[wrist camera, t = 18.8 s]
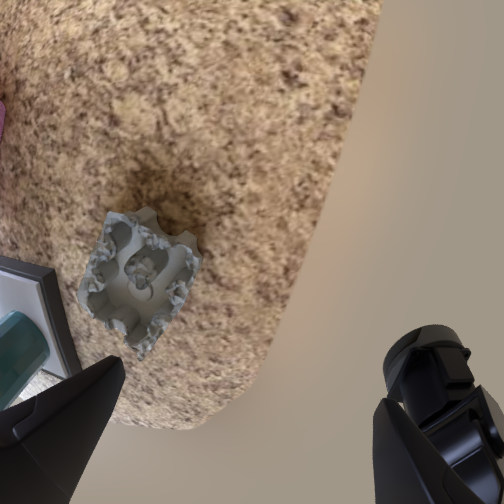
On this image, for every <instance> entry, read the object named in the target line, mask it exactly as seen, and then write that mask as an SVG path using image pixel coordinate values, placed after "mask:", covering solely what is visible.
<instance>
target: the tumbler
mask: <svg viewBox="0 0 504 504" xmlns="http://www.w3.org/2000/svg"><path fill="white" fill-rule="evenodd" d="M49 358H50V349H49V346H48V343H47V341H46V339H45V337H44V335H43V334H42V332H41V331H40V329H39V328H38V327H37V326H36V324H35V323H34V322H33V321H32V320H31V319H30V318H29V317H27V316H26V315H25V314H23V313H22V312H20V311H16V310H12V311H10V312H9V313H8V314H6V315H5V316H4V317H3V318H2V319H0V411H2V410H5V409H7V408H9V406H10V405H11V404H12V403H13V401H14V400H15V399H16V398H17V397H18V396H19V394H20V393H21V392H22V391H23V390H24V389H25V387H26V386H27V385H28V384H29V383H30V381H31V380H32V379H33V378H34V377H35V376H36V375H37V373H38V372H39V371H40V370H41V369H42V368H43V366H44V365H45V364H46V362H47V361H48V360H49Z"/></svg>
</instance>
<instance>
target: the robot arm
mask: <svg viewBox="0 0 504 504" xmlns="http://www.w3.org/2000/svg"><path fill="white" fill-rule="evenodd" d="M414 352H416V353H414ZM470 355H471V351H470V349H469V348H447V347H417V346H416V347H412V348H411V349H410V350H409V352H408V354H407V356H406V358H405V360H404V362H403V365H402V367H401V369H400V371H399V373H398V375H397V377H396V379H395V381H394V383H393V385H392V387H391V389H390V391H389V393H388V395H387V398H383V399H382V400H381V401H380V403H379V405H378V407H377V409H376V411H375V413H374V416H373V469H374V482H375V500H376V501H375V502H376V504H504V415H503V413H502V411H501V409H500V407H499V405H498V403H497V402H496V401H495V400H494V399H493V398H492V397H491V395H490V394H489V393H488V392H487V391H486V390H485V389H484V388H483V387H482V386H481V385H479V386H478V387H477V388H475V386H474V384H473V383H474V381H475V380H474V377H473V375H472V373H471V371H470V369H469V367H468V365H467V361H468V359H469V357H470ZM125 376H126V374H125V370H124V366H123V361H122V359H121V358H120V357H117V356H113V355H110V356H108V357H106V358H104V359H102V360H101V361H99V362H97V363H95V364H93V365H91V366H89V367H88V368H86V369H84V370H82V371H80V372H78V373H77V374H75V375H73V376H71V377H69V378H67V379H65V380H63V381H62V382H60V383H58V384H56V385H54V386H52V387H50V388H48V389H47V390H45V391H43V392H41V393H39V394H37V395H36V396H33V397H31V398H29V399H27V400H25V401H23V402H21V403H19V404H17V405H15V406H12V407H10V408H7V409H5V410H2V411H0V504H69V502H70V498H71V497H72V495H73V493H74V491H75V489H76V486H77V484H78V482H79V480H80V478H81V476H82V474H83V472H84V469H85V467H86V465H87V463H88V461H89V459H90V457H91V455H92V453H93V451H94V449H95V447H96V445H97V443H98V441H99V439H100V437H101V435H102V433H103V431H104V429H105V427H106V425H107V423H108V421H109V419H110V417H111V415H112V413H113V410H114V407H115V405H116V402H117V399H118V397H119V394H120V391H121V389H122V386H123V383H124V381H125ZM398 402H403V406H404V409H405V411H404V410H403V408H402V407H401V406H400V405H399V403H398Z"/></svg>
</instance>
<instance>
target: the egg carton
mask: <svg viewBox="0 0 504 504" xmlns="http://www.w3.org/2000/svg"><path fill="white" fill-rule="evenodd" d="M97 241H98V242H97V244H96V245H95V247H94V248H93V250H92V251H91V255H90V260H89V262H88V265H87V267H86V271H85V274H84V277H83V279H82V281H81V284H80V286H79V289H78V293H77V298H78V301H79V303H80V304H81V306H82V308H83V309H84V310H86V311H87V312H89V314H90V315H91V316H92V318H93V319H94V318H96V319H98V320H100V321H101V322H103V323H104V325H105V328H106V329H108V330H111V329H113V328H116V329H117V330H119V331H120V332H122V333H124V334H125V336H124V341H123V342H124V344H125V345H126V346H127V347H128V348H129V349H131V350H132V351H134V352H136V353H137V355H139V358H138V360H139V361H142V360H143V359H144V358H145V357H146V355H147V354H148V352H149V351H150V349H151V348H152V347H153V345H154V344H155V342H156V341H157V340H158V338H159V337H160V336H161V335H162V333H163V332H164V331H165V329H166V328H167V326H168V325H169V324H170V322H171V321H172V319H173V318H174V317H175V315H176V314H177V313H178V312H179V310H180V309H181V307H182V306H183V304H184V302H185V300H186V298H187V296H188V293H189V291H190V289H191V286H192V284H193V282H194V278H195V276H196V274H197V272H198V271H199V269H200V265H201V264H202V262H203V256H202V255H201V254H200V253H199V251H198V248H197V237H196V236H195V235H193V234H191V233H190V232H188V231H187V230H184V232H183V233H182V234H180V235H178V236H173V235H172V236H170V235H168V234H166V233H165V232H163V231H162V230H161V228H160V226H159V224H158V222H157V212H156V211H154V210H153V209H151V208H150V207H148V206H145V207H143V208H142V209H140V210H138V211H136V212H132V211H127V212H125V213H123V214H120V213H116V212H112V211H109V212H108V214H107V216H106V219H105V222H104V224H103V230H102V232H101V234H100V236H99V238H98V239H97Z"/></svg>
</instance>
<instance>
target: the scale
mask: <svg viewBox="0 0 504 504" xmlns="http://www.w3.org/2000/svg"><path fill="white" fill-rule="evenodd" d="M12 310H16V311H20V312H22V313H23V314H25V315H26V316H27V317H29V318H30V319H31V320H32V321H33V322H34V323H35V324H36V326H37V327H38V328H39V329H40V331H41V332H42V334H43V335H44V337H45V339H46V341H47V343H48V346H49V349H50V358H49V360H48V361H47V362H46V364H45V365H44V366H43V368H42V369H41V371H44V372H46V373H48V374H50V375H52V376H55V377H57V378H59V379H61V380H65V379H67V378H69V377H71V376H73V375H75V374H77V373H78V372H80V371H82V369H81V366H80V363H79V360H78V357H77V354H76V351H75V348H74V345H73V341H72V338H71V335H70V331H69V328H68V324H67V320H66V317H65V313H64V309H63V305H62V301H61V297H60V293H59V288H58V284H57V279H56V274H55V270H54V269H52V268H48V267H43V266H39V265H35V264H31V263H27V262H23V261H19V260H15V259H11V258H7V257H4V256H0V319H2V318H3V317H4V316H5V315H6V314H8V313H9V312H10V311H12Z"/></svg>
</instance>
